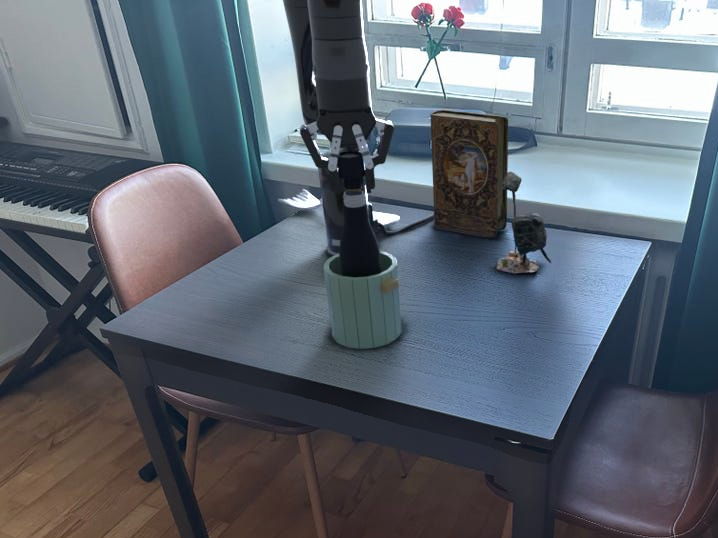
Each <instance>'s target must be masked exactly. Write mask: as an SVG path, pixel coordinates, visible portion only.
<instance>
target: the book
mask: <svg viewBox="0 0 718 538" xmlns="http://www.w3.org/2000/svg"><path fill="white" fill-rule="evenodd" d="M429 115H430V137H431V139H430V141H431V166H432V168H431V169H432V195H433V196H432V197H433V213H434V218H433V221H434V223H433V225H434V228H435V229H436V230H437V229H438V230H444V231H449V232H455V233H461V234H466V235H471V236H478V237H483V238H491V239H494V238H496V237H497V235H498V232H501V231H504V230H505V229H506V228H507V224H508V190H506V189H503V191H502V192H500V189H501V188H502V187H503V186H502V182H503V180H504V178H505V177H506V175H507V173H508V172H509V170H508V167H509V118H508V117H507V116H506V115H497V114H489V113H479V112H470V111H461V110H451V109H437V110H434V111H431V112H430V113H429Z"/></svg>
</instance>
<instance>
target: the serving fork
mask: <svg viewBox="0 0 718 538" xmlns="http://www.w3.org/2000/svg"><path fill="white" fill-rule="evenodd" d="M277 201H278V203H280V204H282V205H284V206H288V207H292V208H295V209H299V210H304V211H312V210H317V209H319V208H323V204H322V202H320V200H319V199H318V198H317V197H315V196H314V195H312V194H311V193H310V192H309V190H306V189H304V188H302V189H301V192H299V194H296V197H295V196H293V197H291V198H288V197H287V198H283V199H282V198H278V199H277ZM373 218H376V219H378V222H380V223H382V224H383V225H384V226H385V228H387V227H390V226H394V225H395V224H397V223H398V222H399V221H400V216H399V215H397V214H393V213H392V214H391V213H385V212H377V211H373ZM378 228H379V229H381V228H380V227H378Z"/></svg>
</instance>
